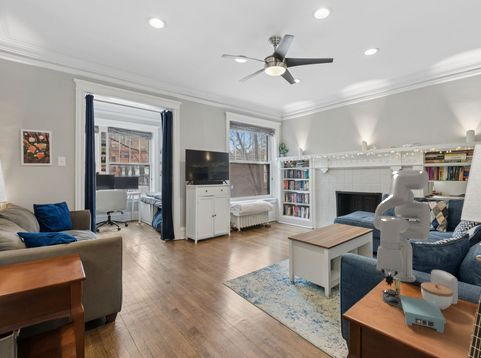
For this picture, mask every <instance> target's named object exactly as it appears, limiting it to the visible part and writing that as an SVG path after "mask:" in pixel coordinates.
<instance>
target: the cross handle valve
mask: <svg viewBox="0 0 481 358" xmlns="http://www.w3.org/2000/svg"><path fill="white" fill-rule="evenodd" d="M400 295H401V281H399V280H395V279H394V289H391V288H388V289H387V290H385V289H382V297H383V299H384V300H385V301H388V302H392V303H398V302H399V301H400Z"/></svg>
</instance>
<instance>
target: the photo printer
mask: <svg viewBox="0 0 481 358" xmlns="http://www.w3.org/2000/svg"><path fill="white" fill-rule="evenodd" d="M458 281H459V280H458V279H457V277H455V276H454V275H453V274H451V273H449V272H447V271H445V270H441V269H432V270H431V272H430V283H436V284H440V285H443V286H446V287H448V288H450V289H451V290H452V291H453V300H452V303H451V305H457V303H458V301H459V300H458V299H459V294H458V293H459V292H458V291H459V289H458V287H459V283H458Z"/></svg>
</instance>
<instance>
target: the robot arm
mask: <svg viewBox="0 0 481 358" xmlns="http://www.w3.org/2000/svg"><path fill="white" fill-rule="evenodd" d="M428 183H429V173H428V172H427V170H424V169H407V170H406V169H402V170H394V171H393V172H391V175H390V185H389V189H388V190H389V192H388V197H387V198H385V199H384V200H382V201H381V202H380V203H379V204H378V205H377V207H376V209H375V212H374V218H373V227H374V228H375V229H377V230H378V231H380V236H379V237H380V241H379V242H380V243H379V244H380V245H378V248H377V254H376V270H377V271H380V272H382V274H384V276H385V283H386V284H387V286H392V284H394V281H395V280H399V281H400V282H404V283H413V282H416V276H415V275H413V246H412V243H411V242H410V241H409V239H411V240H415V241H417V240H418V241H423V242H424V241H427V240H428V239H429V237H430V230H431V229H430V227H431V207H430V205H429V204H428V203H424V202H419V201H417V202H416V201H414V200H415V194H414V192H413V191H415V190H419V191H421V190H423V189H425V187H426V186H427V185H428ZM390 209H394V215H395V216H394V215H393V216H392V215H384V213H385V212H386V211H387V210H390Z"/></svg>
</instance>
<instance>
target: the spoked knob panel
mask: <svg viewBox="0 0 481 358" xmlns="http://www.w3.org/2000/svg"><path fill="white" fill-rule="evenodd" d="M381 300H382V302H384V303H386V304H387V305H391V306H396V307H398V308H399V309H401V310H403V314H404V316H405V317H404V318H405V320H404V322H405V325H407V326H413V324H415V325H420V326H422V327H423V326H425V327H428V328H433V329H435V330H436V332H437V333H441V334H444V331H445V325H446V323H447V320H446V317H444V315H443V313H442V311H441V310H440V309H439V307H438V306H437V304H436V302H434V301H429V300H424V299H423V298H418V297H412V296H407V295H403V294H400V297H399V302H398V303H392V302H388V301H385V300H384V299H383V296H382V297H381Z"/></svg>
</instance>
